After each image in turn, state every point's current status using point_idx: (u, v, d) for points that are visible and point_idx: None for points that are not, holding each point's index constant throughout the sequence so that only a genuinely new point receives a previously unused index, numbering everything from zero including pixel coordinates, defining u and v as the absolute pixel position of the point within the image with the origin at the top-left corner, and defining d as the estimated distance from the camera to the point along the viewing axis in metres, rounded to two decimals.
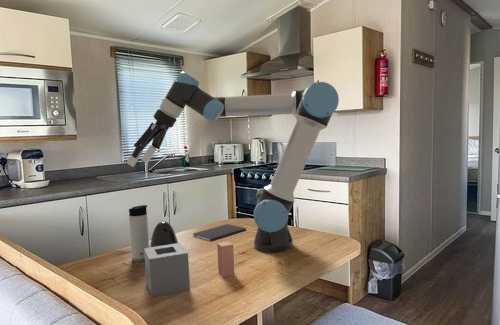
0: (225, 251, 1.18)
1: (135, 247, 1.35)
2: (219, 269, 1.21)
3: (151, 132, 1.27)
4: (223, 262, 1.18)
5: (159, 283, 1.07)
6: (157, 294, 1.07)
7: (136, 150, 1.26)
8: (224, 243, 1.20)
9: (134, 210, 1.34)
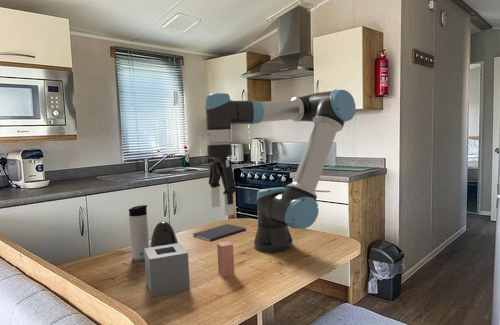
0: (225, 251, 1.18)
1: (135, 247, 1.35)
2: (219, 269, 1.21)
3: (230, 169, 1.12)
4: (223, 262, 1.18)
5: (159, 283, 1.07)
6: (157, 294, 1.07)
7: (230, 196, 1.11)
8: (224, 243, 1.20)
9: (134, 210, 1.34)
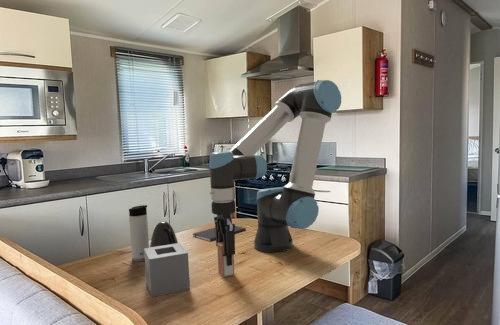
0: None
1: (135, 247, 1.35)
2: (219, 269, 1.21)
3: (232, 233, 1.15)
4: (223, 262, 1.18)
5: (159, 283, 1.07)
6: (157, 294, 1.07)
7: (229, 258, 1.17)
8: None
9: (134, 210, 1.34)
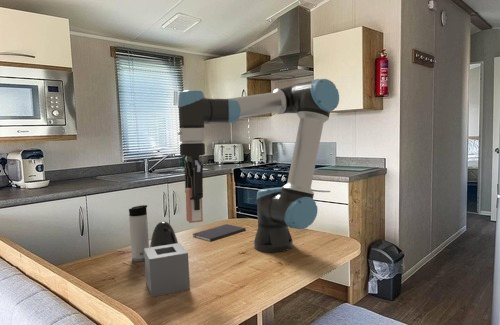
0: None
1: (135, 247, 1.35)
2: (187, 215, 1.15)
3: (200, 175, 1.09)
4: (190, 207, 1.12)
5: (159, 283, 1.07)
6: (157, 294, 1.07)
7: (196, 202, 1.11)
8: None
9: (134, 210, 1.34)
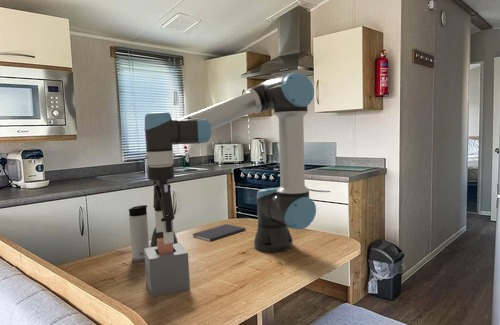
0: (164, 247, 1.10)
1: (135, 247, 1.35)
2: None
3: (169, 195, 1.04)
4: None
5: (159, 283, 1.07)
6: (157, 294, 1.07)
7: (168, 223, 1.04)
8: (163, 239, 1.12)
9: (134, 210, 1.34)
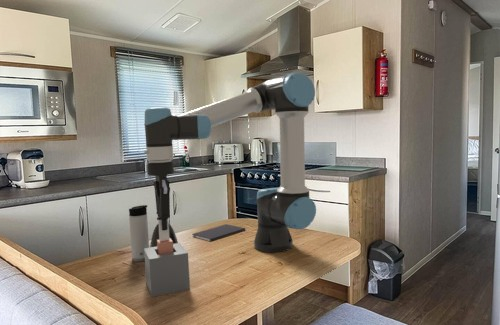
0: (164, 248, 1.10)
1: (135, 247, 1.35)
2: None
3: (167, 196, 1.06)
4: None
5: (159, 283, 1.07)
6: (157, 294, 1.07)
7: (163, 222, 1.10)
8: None
9: (134, 210, 1.34)
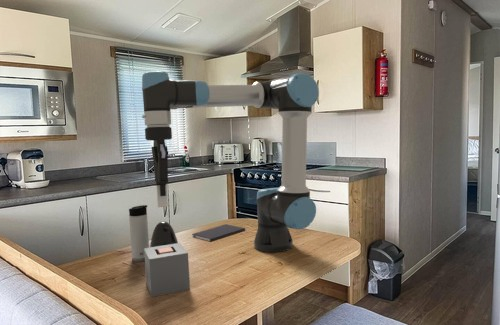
0: None
1: (135, 247, 1.35)
2: None
3: (165, 161, 1.05)
4: None
5: (159, 283, 1.07)
6: (157, 294, 1.07)
7: (162, 187, 1.09)
8: (164, 249, 1.13)
9: (134, 210, 1.34)
